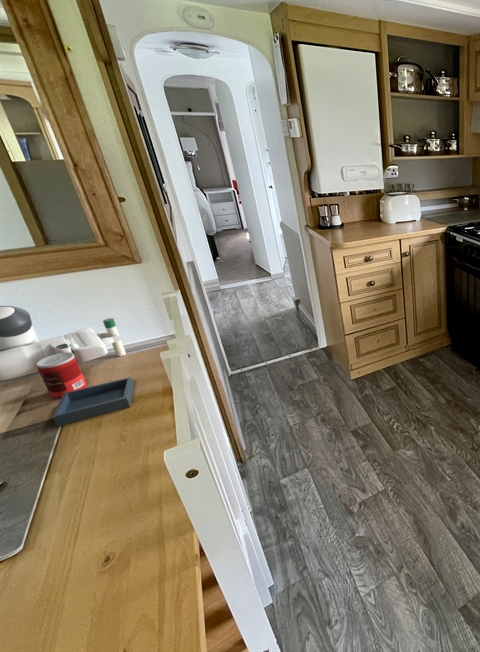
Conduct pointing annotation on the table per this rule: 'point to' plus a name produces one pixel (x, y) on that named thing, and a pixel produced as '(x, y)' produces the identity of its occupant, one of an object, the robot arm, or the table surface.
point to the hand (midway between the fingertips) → (117, 335)
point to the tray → (94, 401)
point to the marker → (113, 331)
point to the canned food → (61, 374)
